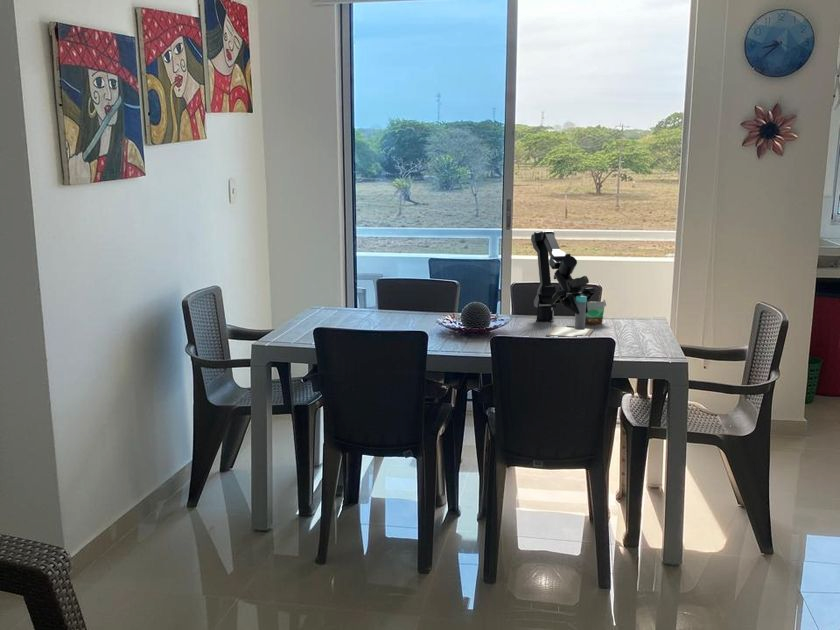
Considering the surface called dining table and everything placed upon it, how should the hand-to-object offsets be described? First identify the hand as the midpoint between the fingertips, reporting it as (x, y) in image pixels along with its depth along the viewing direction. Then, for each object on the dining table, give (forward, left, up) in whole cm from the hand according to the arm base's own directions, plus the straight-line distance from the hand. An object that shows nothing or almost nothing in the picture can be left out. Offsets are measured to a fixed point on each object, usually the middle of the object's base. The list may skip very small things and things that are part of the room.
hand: (582, 313), depth 320 cm
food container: (+1, +27, -10) cm, 29 cm away
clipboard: (-6, +5, -10) cm, 13 cm away
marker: (-1, +1, -7) cm, 7 cm away
